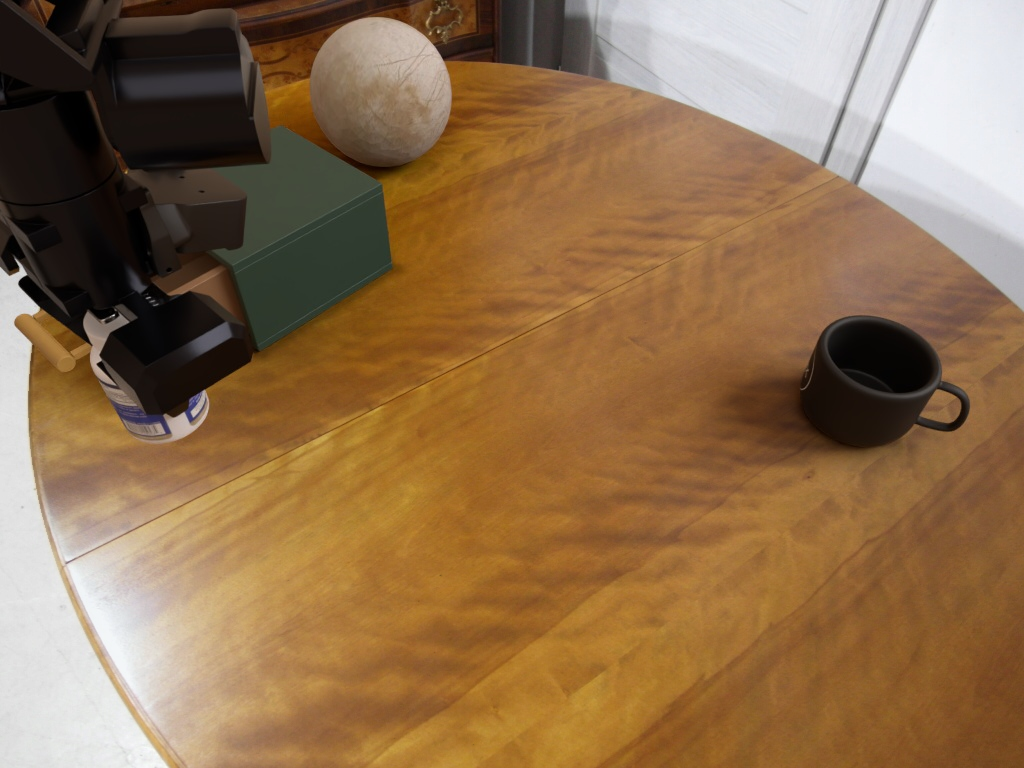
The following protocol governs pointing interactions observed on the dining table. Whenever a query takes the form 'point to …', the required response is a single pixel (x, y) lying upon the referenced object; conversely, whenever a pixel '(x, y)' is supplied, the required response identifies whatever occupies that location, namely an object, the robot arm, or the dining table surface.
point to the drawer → (194, 276)
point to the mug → (873, 382)
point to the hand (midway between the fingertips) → (156, 389)
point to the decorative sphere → (380, 92)
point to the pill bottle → (131, 415)
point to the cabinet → (303, 236)
